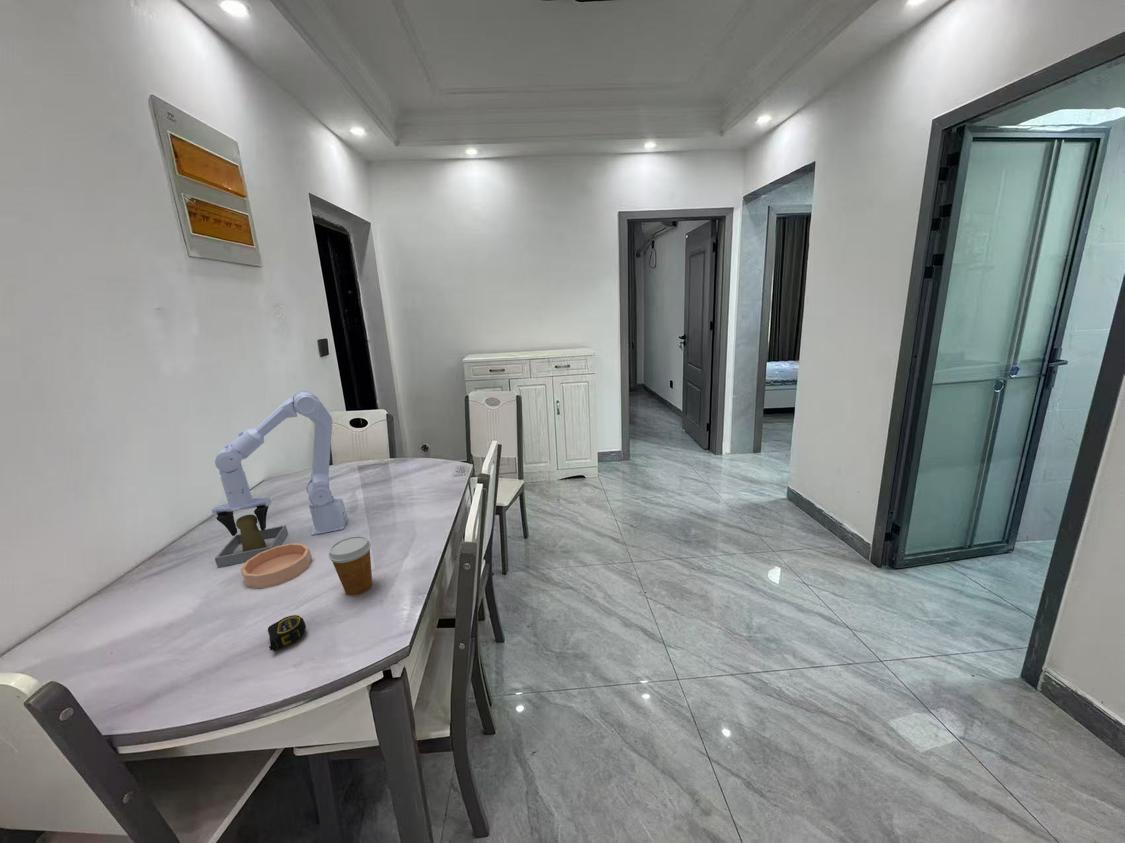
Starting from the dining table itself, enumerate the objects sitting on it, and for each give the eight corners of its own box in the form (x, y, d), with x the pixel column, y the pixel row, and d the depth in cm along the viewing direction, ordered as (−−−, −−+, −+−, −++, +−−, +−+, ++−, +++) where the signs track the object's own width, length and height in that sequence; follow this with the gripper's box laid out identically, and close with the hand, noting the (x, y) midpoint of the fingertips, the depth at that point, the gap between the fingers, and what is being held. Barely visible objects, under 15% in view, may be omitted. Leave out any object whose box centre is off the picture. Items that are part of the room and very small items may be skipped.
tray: (288, 533, 145) (285, 525, 144) (273, 556, 132) (271, 547, 131) (237, 543, 142) (235, 534, 141) (217, 567, 129) (214, 558, 128)
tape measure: (270, 638, 98) (265, 623, 97) (305, 623, 102) (301, 609, 101) (271, 656, 93) (266, 641, 92) (309, 640, 96) (305, 625, 95)
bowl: (316, 549, 134) (314, 538, 133) (302, 579, 119) (299, 567, 118) (257, 561, 130) (254, 550, 129) (235, 593, 115) (231, 581, 114)
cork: (255, 555, 133) (244, 521, 131) (238, 554, 135) (227, 521, 132) (271, 544, 139) (262, 511, 136) (255, 544, 140) (245, 511, 138)
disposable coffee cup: (338, 583, 116) (328, 541, 113) (378, 572, 119) (369, 531, 116) (337, 605, 107) (325, 560, 104) (380, 592, 111) (370, 548, 107)
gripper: (201, 499, 126) (215, 543, 130) (260, 489, 130) (272, 532, 133) (213, 489, 133) (226, 531, 136) (268, 481, 136) (279, 522, 140)
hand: (249, 531), depth 135 cm, fingers open, 7 cm apart
